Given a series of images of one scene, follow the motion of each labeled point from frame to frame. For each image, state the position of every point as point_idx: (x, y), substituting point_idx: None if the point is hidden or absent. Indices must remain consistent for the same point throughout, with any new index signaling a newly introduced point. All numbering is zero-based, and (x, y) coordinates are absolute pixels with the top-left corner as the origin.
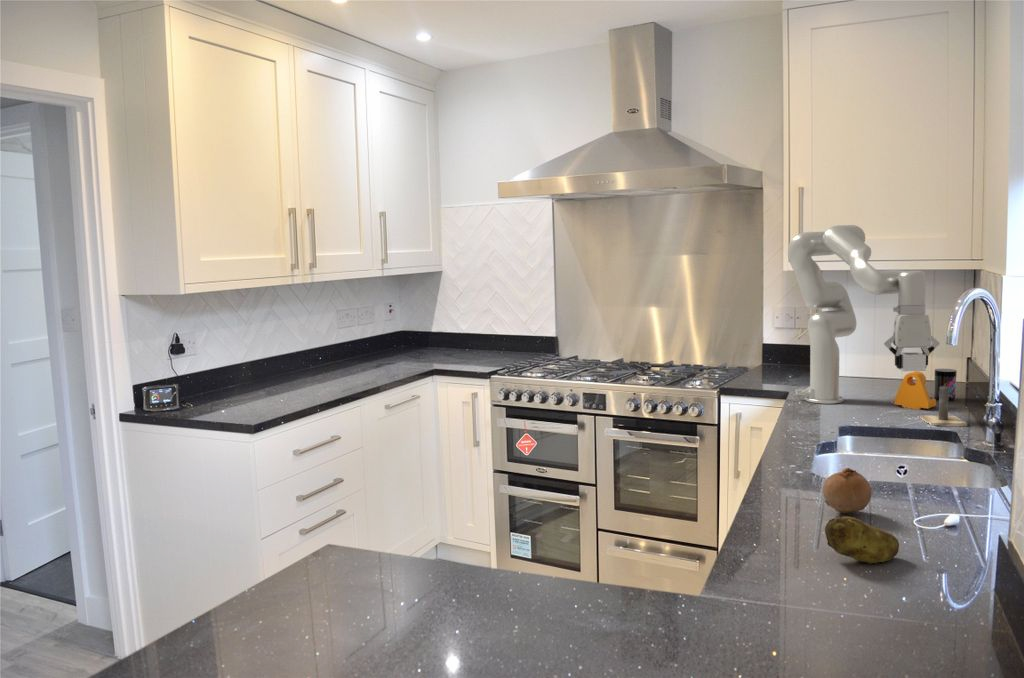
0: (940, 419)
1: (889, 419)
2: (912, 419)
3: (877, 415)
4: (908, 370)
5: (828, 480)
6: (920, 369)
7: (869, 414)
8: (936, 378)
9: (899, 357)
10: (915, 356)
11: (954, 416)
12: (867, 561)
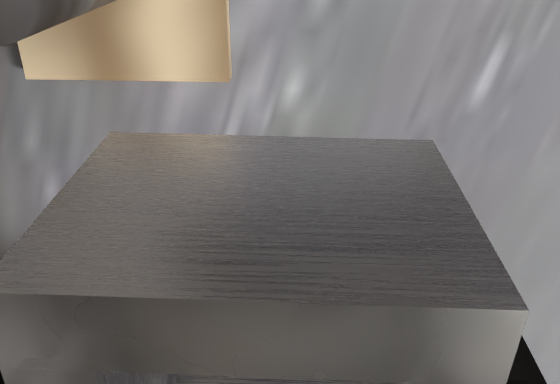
0: None
1: (423, 56)
2: (282, 57)
3: (448, 164)
4: (356, 140)
5: None
6: (178, 145)
7: (483, 189)
8: None
9: (518, 358)
10: (228, 274)
11: (30, 57)
12: None
